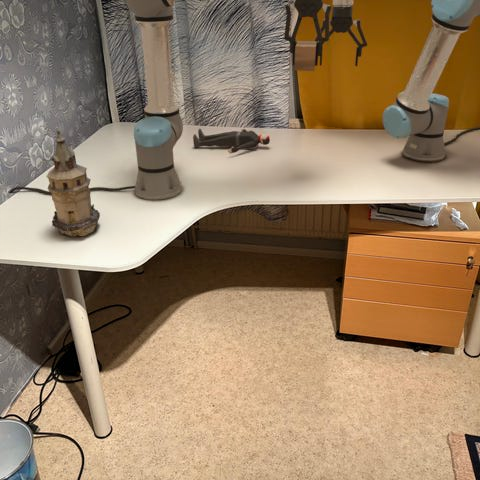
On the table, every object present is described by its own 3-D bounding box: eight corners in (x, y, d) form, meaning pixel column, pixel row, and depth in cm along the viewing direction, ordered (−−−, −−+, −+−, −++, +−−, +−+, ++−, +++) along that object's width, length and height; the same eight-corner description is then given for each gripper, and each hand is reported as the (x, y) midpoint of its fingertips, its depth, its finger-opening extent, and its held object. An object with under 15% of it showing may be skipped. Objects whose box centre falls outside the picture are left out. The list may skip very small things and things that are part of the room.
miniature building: (80, 214, 164) (63, 117, 149) (111, 225, 157) (96, 125, 142) (44, 231, 154) (22, 130, 140) (75, 244, 147) (55, 139, 133)
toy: (204, 122, 226) (274, 122, 220) (205, 136, 229) (274, 137, 223) (186, 142, 204) (264, 143, 198) (188, 157, 207) (264, 159, 201)
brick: (314, 71, 163) (315, 46, 160) (294, 70, 164) (295, 45, 161) (315, 65, 171) (317, 41, 167) (296, 64, 172) (297, 41, 168)
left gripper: (343, -19, 157) (336, 63, 169) (278, -19, 160) (275, 61, 171) (343, -17, 151) (336, 68, 162) (275, -17, 154) (273, 66, 165)
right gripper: (376, 4, 199) (370, 63, 209) (309, 4, 202) (306, 62, 213) (378, 6, 192) (371, 67, 203) (308, 6, 196) (305, 66, 206)
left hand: (305, 64), depth 167 cm, fingers closed on brick, 6 cm apart
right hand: (338, 65), depth 208 cm, fingers open, 13 cm apart
